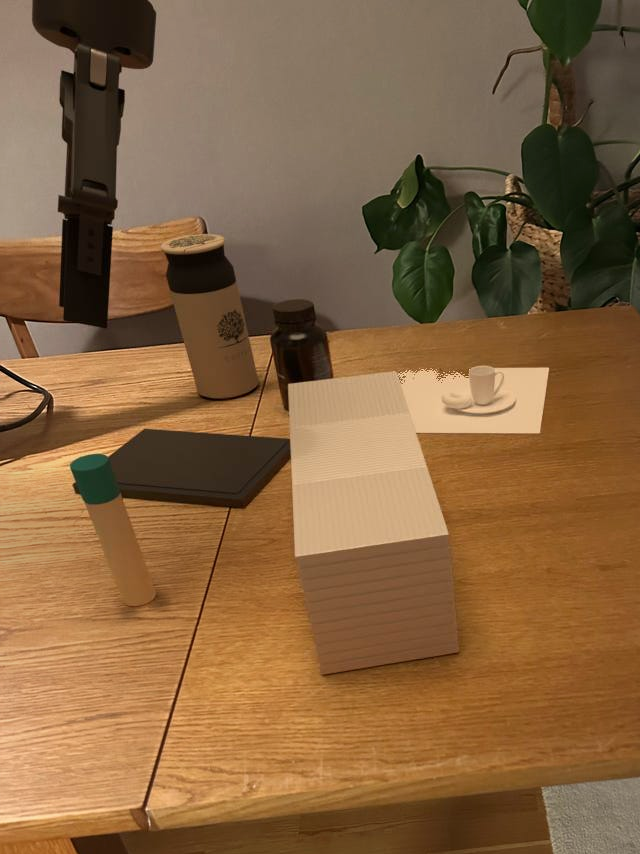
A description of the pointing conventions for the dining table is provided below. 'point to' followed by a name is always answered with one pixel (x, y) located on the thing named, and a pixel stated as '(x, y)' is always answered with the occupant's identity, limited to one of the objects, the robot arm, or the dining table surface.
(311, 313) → the supplement bottle
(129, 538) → the marker
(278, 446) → the black cutting board
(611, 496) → the dining table surface
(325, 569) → the stack of papers
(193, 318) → the travel mug
